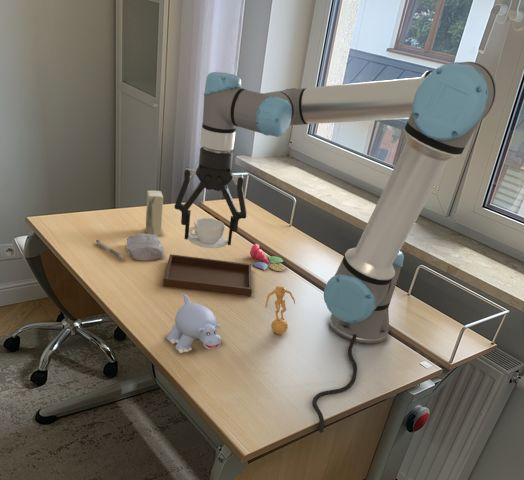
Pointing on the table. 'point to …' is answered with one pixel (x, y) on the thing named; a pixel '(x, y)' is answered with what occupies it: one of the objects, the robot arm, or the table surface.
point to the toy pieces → (265, 259)
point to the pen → (109, 249)
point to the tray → (208, 275)
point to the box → (154, 212)
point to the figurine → (279, 324)
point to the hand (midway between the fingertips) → (208, 240)
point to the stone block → (144, 247)
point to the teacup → (208, 233)
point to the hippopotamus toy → (194, 327)
